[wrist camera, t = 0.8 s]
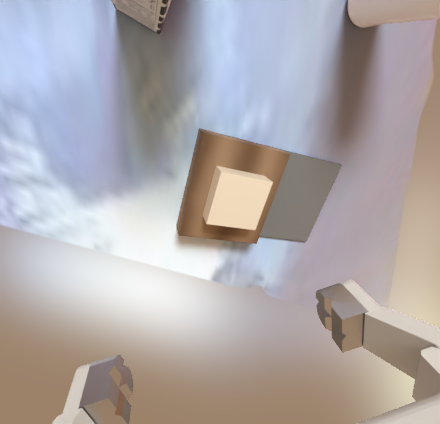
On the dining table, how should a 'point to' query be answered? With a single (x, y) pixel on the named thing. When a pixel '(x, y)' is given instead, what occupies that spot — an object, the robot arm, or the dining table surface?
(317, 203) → the mat
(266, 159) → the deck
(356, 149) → the dining table surface
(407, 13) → the white tapered cup
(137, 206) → the dining table surface
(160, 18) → the candy bar box
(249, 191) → the tile
